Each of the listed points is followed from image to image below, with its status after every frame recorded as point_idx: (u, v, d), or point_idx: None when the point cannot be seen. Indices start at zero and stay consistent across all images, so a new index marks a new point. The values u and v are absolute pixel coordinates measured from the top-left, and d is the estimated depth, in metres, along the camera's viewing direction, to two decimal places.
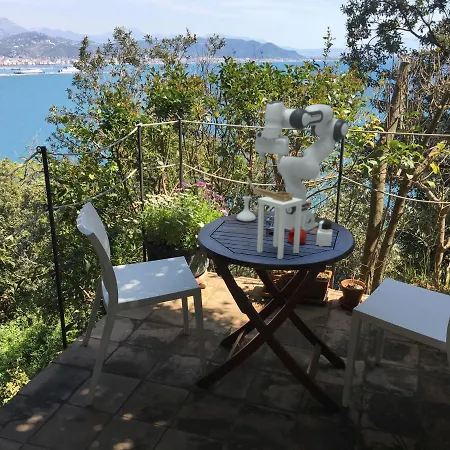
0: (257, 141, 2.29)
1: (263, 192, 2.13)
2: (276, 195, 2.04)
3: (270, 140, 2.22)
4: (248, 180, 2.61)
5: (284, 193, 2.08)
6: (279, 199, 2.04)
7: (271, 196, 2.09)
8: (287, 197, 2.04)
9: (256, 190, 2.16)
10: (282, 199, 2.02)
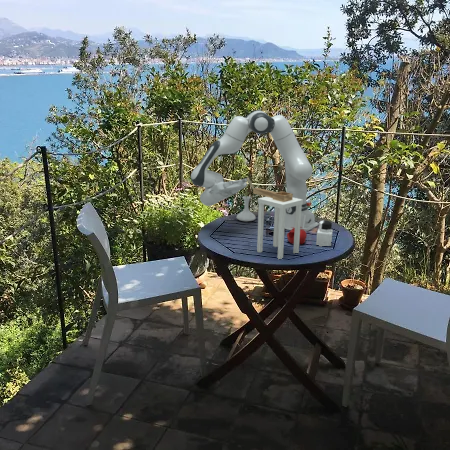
0: (239, 189, 2.37)
1: (263, 192, 2.13)
2: (276, 195, 2.04)
3: (225, 194, 2.32)
4: (248, 180, 2.61)
5: (284, 193, 2.08)
6: (279, 199, 2.04)
7: (271, 196, 2.09)
8: (287, 197, 2.04)
9: (256, 190, 2.16)
10: (282, 199, 2.02)
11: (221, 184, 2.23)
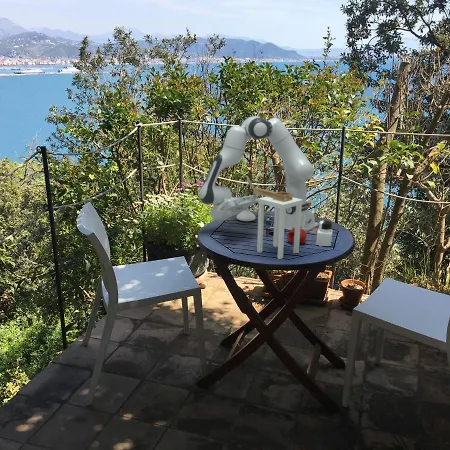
0: (250, 205, 2.34)
1: (263, 192, 2.13)
2: (276, 195, 2.04)
3: (236, 210, 2.28)
4: (248, 180, 2.61)
5: (284, 193, 2.08)
6: (279, 199, 2.04)
7: (271, 196, 2.09)
8: (287, 197, 2.04)
9: (256, 190, 2.16)
10: (282, 199, 2.02)
11: (232, 201, 2.20)
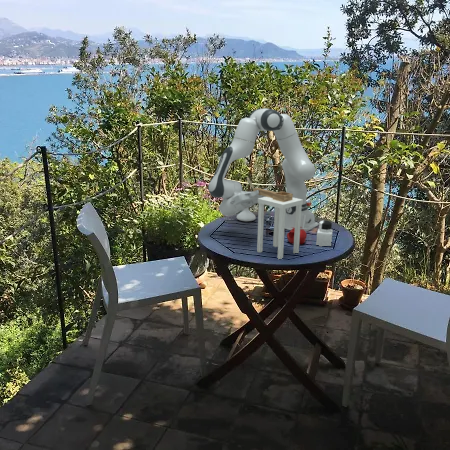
0: None
1: (263, 192, 2.13)
2: (276, 195, 2.04)
3: (246, 204, 2.22)
4: (248, 180, 2.61)
5: (284, 193, 2.08)
6: (279, 199, 2.04)
7: (271, 196, 2.09)
8: (287, 197, 2.04)
9: None
10: (282, 199, 2.02)
11: (243, 194, 2.14)
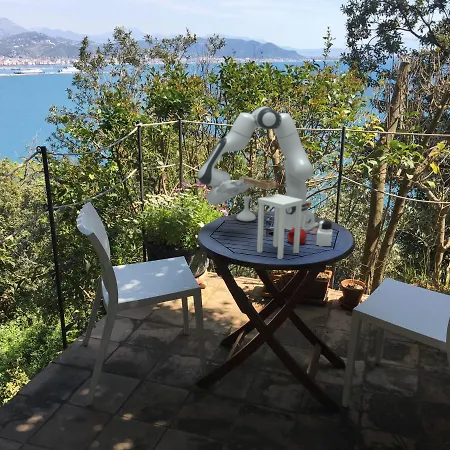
0: (246, 188, 2.33)
1: (248, 180, 2.18)
2: (260, 183, 2.10)
3: (232, 192, 2.28)
4: None
5: (268, 181, 2.14)
6: (263, 187, 2.09)
7: (256, 184, 2.15)
8: (271, 185, 2.09)
9: None
10: (266, 187, 2.08)
11: (229, 183, 2.19)
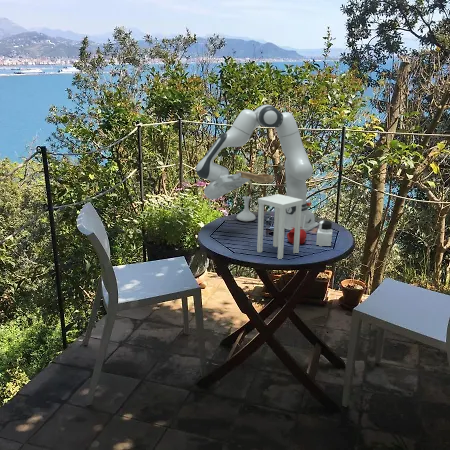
0: (243, 182, 2.34)
1: (245, 174, 2.19)
2: (257, 177, 2.11)
3: (230, 187, 2.28)
4: None
5: (265, 175, 2.15)
6: (260, 181, 2.10)
7: (253, 178, 2.16)
8: (268, 179, 2.10)
9: None
10: (263, 180, 2.09)
11: (226, 177, 2.20)
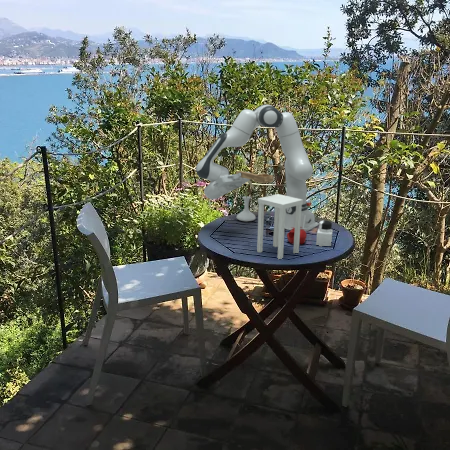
0: (243, 182, 2.34)
1: (245, 174, 2.19)
2: (257, 177, 2.11)
3: (230, 187, 2.28)
4: None
5: (265, 175, 2.15)
6: (260, 181, 2.10)
7: (253, 178, 2.16)
8: (268, 179, 2.10)
9: None
10: (263, 180, 2.09)
11: (226, 177, 2.20)
